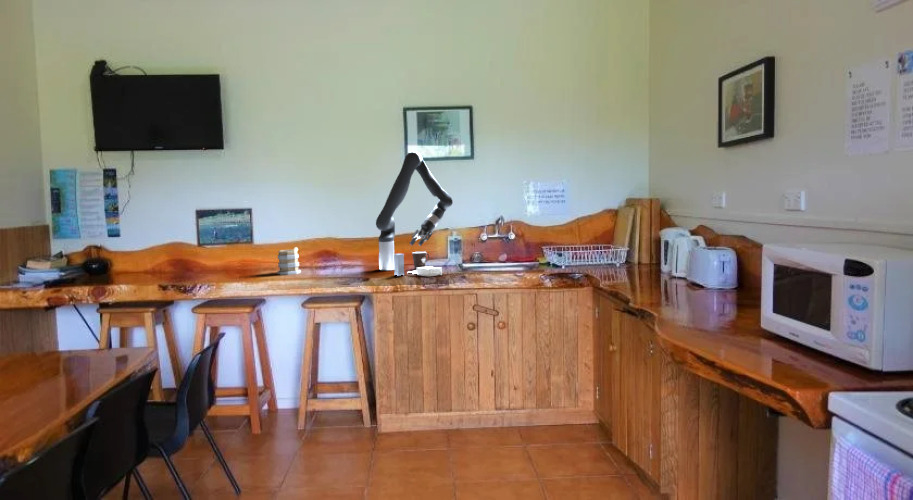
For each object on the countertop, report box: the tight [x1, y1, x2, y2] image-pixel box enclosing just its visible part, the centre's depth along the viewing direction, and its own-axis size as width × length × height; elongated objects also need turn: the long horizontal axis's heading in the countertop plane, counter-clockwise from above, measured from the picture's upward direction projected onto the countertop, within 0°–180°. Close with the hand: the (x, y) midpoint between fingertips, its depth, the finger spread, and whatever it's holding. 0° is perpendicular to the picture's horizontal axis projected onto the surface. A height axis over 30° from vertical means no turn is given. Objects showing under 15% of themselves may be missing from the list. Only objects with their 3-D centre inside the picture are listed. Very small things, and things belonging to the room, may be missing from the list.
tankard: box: [276, 246, 302, 276], centre depth 354 cm, size 20×13×15 cm, turn 168°
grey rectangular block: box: [393, 253, 405, 277], centre depth 326 cm, size 4×4×12 cm
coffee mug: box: [412, 251, 430, 270], centre depth 354 cm, size 12×9×10 cm
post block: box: [407, 265, 443, 278], centre depth 329 cm, size 20×10×4 cm, turn 39°
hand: (415, 244), depth 333 cm, fingers open, 8 cm apart
